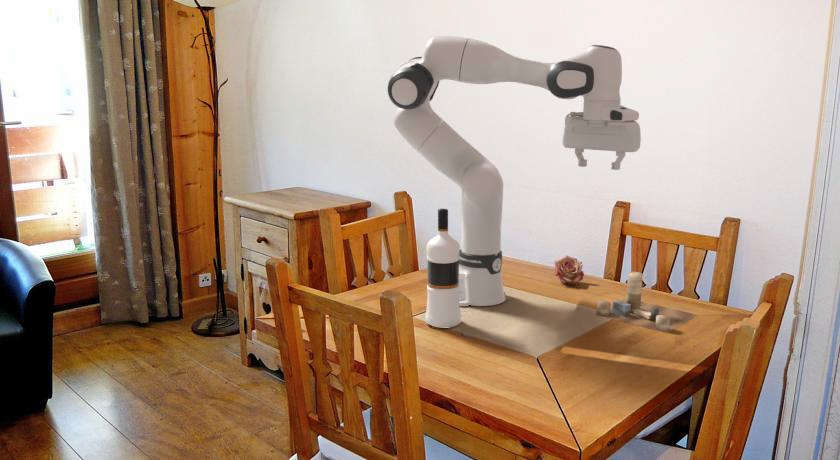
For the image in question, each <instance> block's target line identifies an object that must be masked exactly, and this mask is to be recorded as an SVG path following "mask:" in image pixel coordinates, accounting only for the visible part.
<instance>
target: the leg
mask: <svg viewBox="0 0 840 460" xmlns="http://www.w3.org/2000/svg"><path fill="white" fill-rule="evenodd" d="M643 275H644V274H643V273H642V272H639V271H628V272H627V283H626V284H627V287H626V298H627V299H626V298H625V299H626V303H628V304H631V308H630V312H633V313H636V314H638V315H640V316H642V317H644V318H647V319H651V321H656V316H657V315H659V309H658V308H651V312H649V311H647V310H645V309H642V308H640V307H641V302H642V290H643V288H642V287H643Z"/></svg>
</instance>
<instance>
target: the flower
mask: <svg viewBox="0 0 840 460" xmlns="http://www.w3.org/2000/svg"><path fill="white" fill-rule="evenodd" d="M582 269H583V261H579V260H578V258H575V257H574V256H569V255H564V256H562V257H561V258H559V259H557V260H555V261H554V270H555V276H556V277H557V279H559V280H560V282H561V284H560V286H562V285H563V284H567V283H571V284H572V285H575V286H577V284H578V282H581V281H583V280H584V276H585V275H584V273H585V272H584V270H582Z"/></svg>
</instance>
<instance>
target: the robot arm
mask: <svg viewBox="0 0 840 460" xmlns="http://www.w3.org/2000/svg"><path fill="white" fill-rule="evenodd" d="M622 65H623V63H622V56H621V53H620V52H619V50H617V48H614V47H611V46H607V45H598V44H592V45H589V47H586V48H585V49H584V50H583V51H581V52H579V53H578V54H575V55H573V56H570V57H568V58H565V59H562V60H560V61H557V62H551V63H548V62H541V61H536V60H530V59H527V58H526V59H525V58H520V57H517V56H515V55H512V54H510V53H508V52H506V51H504V50H502V49H500V48H499V47H497V46H495V45H493V44H490V43H488V42H485V41H482V40H478V39H474V38H469V37H463V36H455V35H454V36H450V35H436V36H433V37H430V38H429V40H428V41H427V42H426V44H425V46H424V48H423V52H422V56H417V57H413V58H410V59H409V60H408V61H406V62H405V63H403V64H402V65H400V66H399V68H397V70H395V72H393V74H392V75H391V76H390V79H389V81H388V83H387V94H388V97H389V99H390V101H391V102H392V104H393V105H395V106H396V107H398V108H397V110H396V111H395V113H394V118H393V125H394V127H395V128H396V130H397V131H398V132H399V133H400V134H401V136H402V137H403V139H404V140H405V141H406V142H407V143H408V144H409V145H410V146H411V147H412V148H413V149H415V151H416V152H417V153H419V154H420V155H421V157H423V158H424V159H425V160H426V161H427V162H428V163H430V164H431V165H432V167H434V168H435V169H436V170H437V171H439V172H440V173H441V174H443V175H444V176H445V177H447V178H448V179H449V180H451V181H452V182H453V183H454V184H456V186H458V187H459V188H460V189H461V242H460V243H461V247H460V248H461V249H460V252H459V256H460V259H459V286H460V288H459V305H460V307H469V305H471V306H472V307H473V306H474V307H488V306H489V307H490V306H496V305H500V304H502V303H504V302H505V301H506V294H505V291H504V286H503V279H502V278H503V277H502V265H503V251H502V250H501V248H502V247H501V245H502V217H503V216H502V215H503V199H504V198H503V197H504V181H503V178H502V176H501V174H500V172H499V170H498V168H497V167H496V166H495V164H493V163H492V162H491V161H490V160H489V159H488V158H487V157H486V156H485V155H483V154H482V153H481V152H480V151H479V150H477V149H476V148H475V147H474V146H473V145H472V144H471V143H470V142H468V141H467V140H466V139H465V138H463V136H461V135H460V134H459V133H458V131H456V130H455V129H454V128H453V127H452V126H450V125H449V124H448V123H447V122H446V121H445V120H444V119H443V118H442V117H440V115H438V114H437V113H436V112H435V110H433V108H432V107H431V104H430V103H431V101H432V100H433V98H434V96H435V93H436V92H437V89H438V87H439V85H440V81H443V80H449V81H455V82H459V83H466V84H470V85H491V84H497V83H516V84H522V85H523V84H524V85H529V86H534V87H538V88H542V89H545V90H547V91H549V92H550V93H551V94H552V95H553V96H555V98H558V99H561V100H573V99H575V98H577V97H580V96H581V97H583V111H580V112H578V111H577V112H576V111H571V112H570V113H568V114H566V116H564V117H565V118H564V129H563V135H562V145H563V147H564V148H566V149H574V154H575V156H576V158H577V160H578V163H577V164H578V167H581V168H582V167H583V168H584V167H587V166H588V163H587V162H588V159H585V157H584V155H583V153H584V152H585V150H593V151H605V152H615V156H616V159H615V161H612V162H611V170H614V171H619V170H620V169H621V163H622V161H624V158H625V156H626V153H635V152H638V151H639V149H640V148H641V139H642V138H641V126H640V124H639V123H638V122H637V121H638V120H639V118H640V114H639V111H637V110H634V109H632V108H629V107H626V106H624V105H621V95H620V87H621V86H622V80H623V79H622V77H623V66H622ZM471 306H470V307H471Z"/></svg>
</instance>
